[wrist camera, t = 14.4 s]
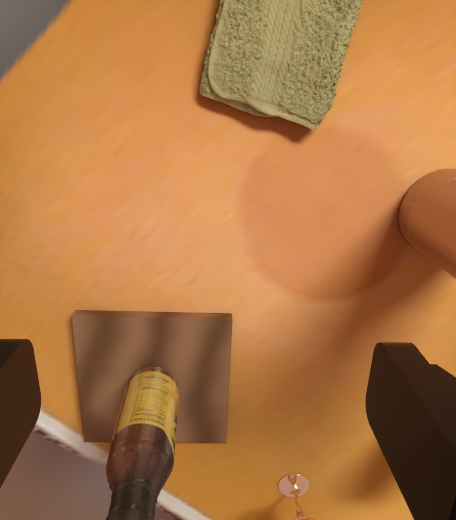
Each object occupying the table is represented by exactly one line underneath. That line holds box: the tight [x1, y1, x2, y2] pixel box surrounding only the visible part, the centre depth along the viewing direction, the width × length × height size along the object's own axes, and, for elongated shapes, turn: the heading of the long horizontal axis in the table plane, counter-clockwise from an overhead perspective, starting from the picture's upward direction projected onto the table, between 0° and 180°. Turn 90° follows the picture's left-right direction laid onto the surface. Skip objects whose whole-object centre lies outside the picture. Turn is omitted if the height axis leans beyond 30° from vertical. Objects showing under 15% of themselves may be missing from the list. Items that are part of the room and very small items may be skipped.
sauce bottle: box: [106, 366, 179, 520], centre depth 42 cm, size 6×6×20 cm
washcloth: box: [199, 0, 362, 130], centre depth 38 cm, size 13×18×3 cm
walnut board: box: [72, 310, 232, 443], centre depth 52 cm, size 18×18×2 cm
